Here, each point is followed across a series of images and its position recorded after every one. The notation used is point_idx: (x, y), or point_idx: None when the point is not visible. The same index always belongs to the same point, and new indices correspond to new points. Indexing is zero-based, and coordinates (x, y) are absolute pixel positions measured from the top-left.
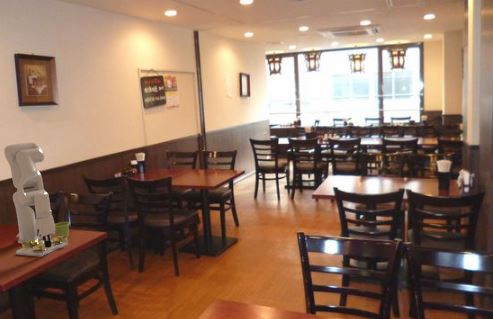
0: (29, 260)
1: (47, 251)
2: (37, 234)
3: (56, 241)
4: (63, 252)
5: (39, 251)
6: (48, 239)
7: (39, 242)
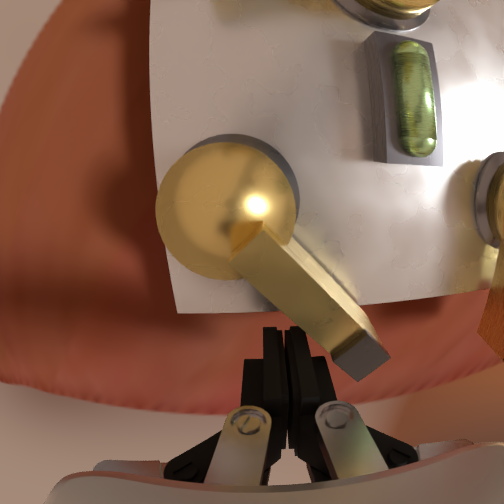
0: (86, 260)
1: None
2: (104, 499)
3: (496, 233)
4: None
5: None
6: (296, 448)
7: (407, 57)
